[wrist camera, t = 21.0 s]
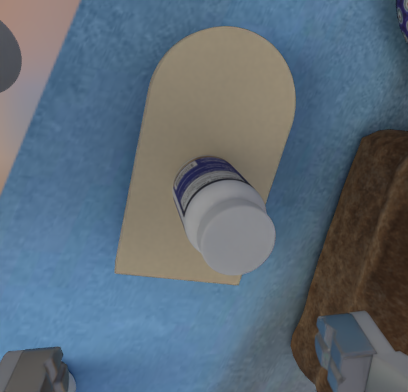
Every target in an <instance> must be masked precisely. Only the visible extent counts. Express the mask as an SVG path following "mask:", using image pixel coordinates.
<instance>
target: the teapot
mask: <svg viewBox="0 0 408 392" xmlns="http://www.w3.org/2000/svg"><path fill="white" fill-rule="evenodd" d="M396 9H397V18H398V22H399V26H400V29H401V31H402V33H403V36H404V38H405V40H406V42H407V44H408V0H396Z"/></svg>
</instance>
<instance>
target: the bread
mask: <svg viewBox="0 0 408 392" xmlns="http://www.w3.org/2000/svg"><path fill="white" fill-rule="evenodd" d="M358 311H366V312H367V313H368V314H369V315H370V317H371V318H372V319H373V321H374V322H375V324H376V325H377V326H378V328H379V329H380V331H381V332H382V333H383V335H384V336H385V338H386V339H387V341H388V342H389V343H390V345H391V346H392V348H393V349H394V350H395V352H397V351H401V352H402V353H404V354H406V355H407V356H408V131H402V130H392V129H388V130H380V131H377V132H375V133H372V134H370V135H368V136H366V137H363V138H362V140H361V143H360V145H359V148H358V151H357V153H356V155H355V158H354V160H353V163H352V166H351V168H350V171H349V173H348V176H347V179H346V182H345V184H344V187H343V190H342V193H341V196H340V199H339V202H338V205H337V208H336V211H335V214H334V217H333V220H332V222H331V225H330V228H329V230H328V233H327V236H326V240H325V243H324V246H323V249H322V252H321V255H320V257H319V260H318V263H317V267H316V270H315V274H314V277H313V280H312V283H311V286H310V289H309V293H308V297H307V301H306V305H305V308H304V312H303V314H302V316H301V319H300V321H299V323H298V325H297V327H296V329H295V331H294V333H293V335H292V340H291V349H292V353H293V356H294V358H295V360H296V362H297V364H298V366H299V368H300V369H301V371H302V372H303V373H304V374H305V376H306V377H307V378H308V379H309V380H310V381H311V382H313V383H314V384H315V386H316V389H317V392H333V391H332V389H331V387H330V385H329V382H328V380H327V375H328V371H327V370H326V369H324V368H323V367H322V366H321V365H320V362H319V360H318V357H317V354H316V349H315V335H316V334H317V333H318V332H319V330H318V328H317V326H316V324H317V319H318V317H319V316H325V315H333V314H341V313H350V312H358Z"/></svg>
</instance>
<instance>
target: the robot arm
mask: <svg viewBox="0 0 408 392" xmlns="http://www.w3.org/2000/svg"><path fill="white" fill-rule="evenodd" d="M316 326H317V328H318V330H319V332H318V333H317V334H316V335H315V349H316V354H317V357H318V360H319V362H320V365H321V366H322V367H323V368H324V369H326V370H327V371H328V375H327V380H328V382H329V385H330V387H331V389H332V391H333V392H408V356H407V355H406V354H404V353H402V352H401V351H397V352H395V350H394V349H393V348H392V346H391V345H390V343H389V342H388V341H387V339H386V338H385V336H384V335H383V333H382V332H381V331H380V329H379V328H378V326H377V325H376V324H375V322H374V321H373V319H372V318H371V317H370V315H369V314H368V313H367V312H366V311H358V312H350V313H341V314H333V315H325V316H319V317H318V319H317V324H316ZM62 357H63V352H62V350H61V347H48V348H36V349H25V350H17V351H8V352H7V353H6V354H5V355H4V356H3V358H2V360H1V362H0V392H68V388H69V370H68V367H67V365H66V364H65V363H63V362H62V361H61V360H62Z"/></svg>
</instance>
